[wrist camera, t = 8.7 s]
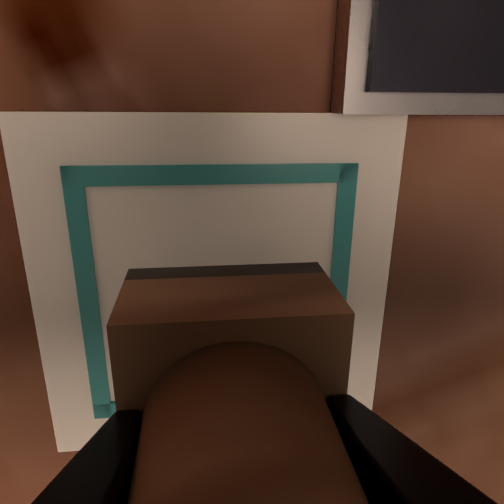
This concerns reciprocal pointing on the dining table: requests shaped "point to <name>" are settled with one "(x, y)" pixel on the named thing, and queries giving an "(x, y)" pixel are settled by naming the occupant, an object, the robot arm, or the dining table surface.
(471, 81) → the ink pad
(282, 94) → the dining table surface
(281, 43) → the dining table surface
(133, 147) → the print card
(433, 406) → the dining table surface
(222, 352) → the stamp
